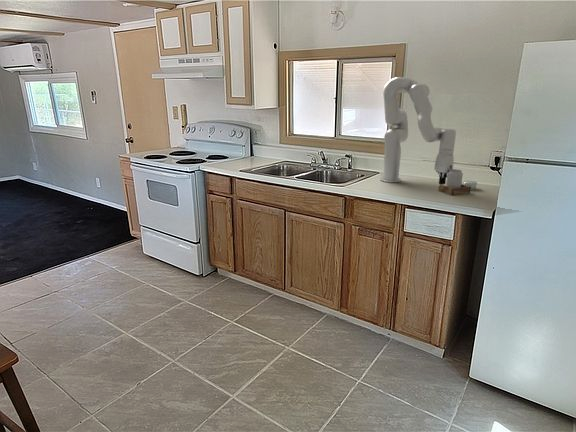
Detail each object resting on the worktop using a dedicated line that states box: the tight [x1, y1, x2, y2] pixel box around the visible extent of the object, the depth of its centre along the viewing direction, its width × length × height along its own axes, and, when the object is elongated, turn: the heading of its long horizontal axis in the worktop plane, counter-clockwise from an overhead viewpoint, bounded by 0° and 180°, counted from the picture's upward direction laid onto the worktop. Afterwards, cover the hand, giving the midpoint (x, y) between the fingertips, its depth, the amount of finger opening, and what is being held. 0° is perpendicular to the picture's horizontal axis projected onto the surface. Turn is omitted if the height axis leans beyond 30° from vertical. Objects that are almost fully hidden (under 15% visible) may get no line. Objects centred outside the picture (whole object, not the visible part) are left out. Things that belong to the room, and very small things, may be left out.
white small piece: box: [462, 179, 478, 191], centre depth 220 cm, size 7×7×4 cm
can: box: [445, 168, 464, 188], centre depth 214 cm, size 8×8×12 cm
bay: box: [438, 183, 472, 196], centre depth 214 cm, size 10×12×4 cm
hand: (441, 184), depth 222 cm, fingers closed
